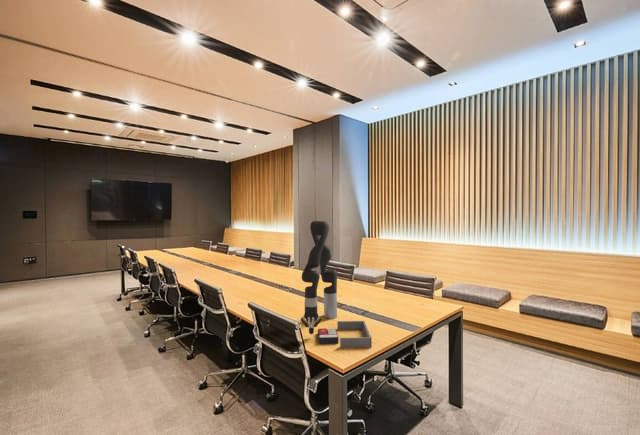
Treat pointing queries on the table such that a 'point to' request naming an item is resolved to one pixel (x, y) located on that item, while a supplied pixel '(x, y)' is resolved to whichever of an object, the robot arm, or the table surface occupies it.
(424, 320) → the table surface
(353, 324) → the box
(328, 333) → the calculator
